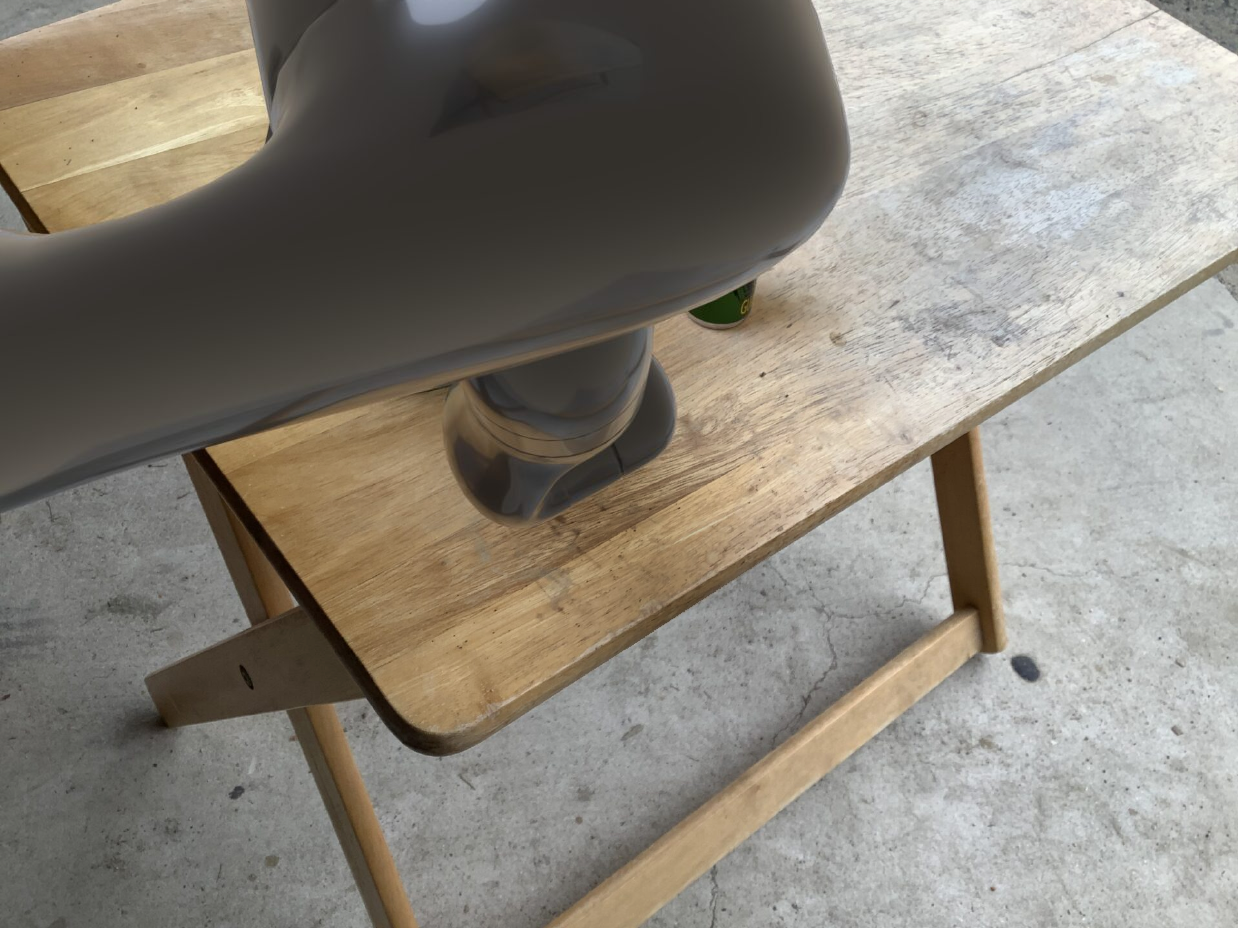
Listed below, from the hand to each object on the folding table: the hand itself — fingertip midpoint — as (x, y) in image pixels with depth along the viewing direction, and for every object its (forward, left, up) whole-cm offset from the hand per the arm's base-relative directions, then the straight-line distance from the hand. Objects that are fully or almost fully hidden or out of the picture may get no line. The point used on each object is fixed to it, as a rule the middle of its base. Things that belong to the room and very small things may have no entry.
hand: (327, 79), depth 69 cm
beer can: (+26, -8, -18) cm, 32 cm away
